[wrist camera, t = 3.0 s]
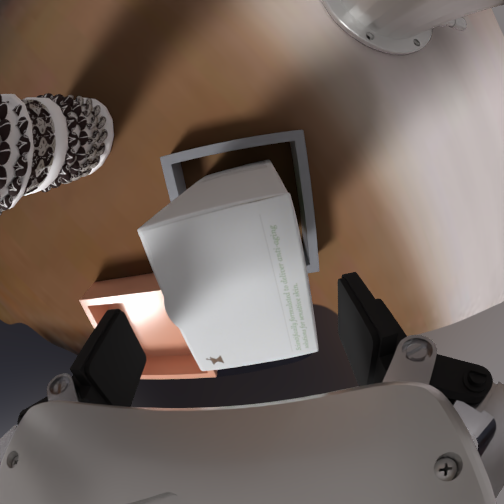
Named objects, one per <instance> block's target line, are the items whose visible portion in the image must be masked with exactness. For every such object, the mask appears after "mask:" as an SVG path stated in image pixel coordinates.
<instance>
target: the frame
mask: <svg viewBox="0 0 504 504" xmlns="http://www.w3.org/2000/svg"><path fill="white" fill-rule="evenodd" d="M289 141H290V146H291V152H292V158H293V165H294V172H295V179H296V186H297V193H298V201H299V209H300V217H301V225H302V234H303V243H304V251H303V252H304V257H305V262H306V268H307V273H312V272H318V271H319V260H318V248H317V236H316V225H315V215H314V206H313V197H312V189H311V181H310V173H309V165H308V158H307V151H306V145H305V138H304V132H303V130H293V131H285V132H278V133H271V134H265V135H258V136H252V137H246V138H241V139H235V140H230V141H225V142H220V143H215V144H211V145H206V146H202V147H197V148H193V149H189V150H185V151H181V152H177V153H173V154H169V155H166V156H163V157H160V160H161V164H162V168H163V173H164V177H165V181H166V185H167V189H168V193H169V197H170V201H171V202H172V201H173V200H174V199H175V198H177V197H178V196H179V195H181V194H182V193H183V192H184V191H186V190H187V189H186V184H185V180H184V176H183V171H182V167H181V163H180V162H182V161H186V160H191V159H195V158H199V157H204V156H208V155H213V154H218V153H223V152H228V151H233V150H238V149H244V148H249V147H255V146H261V145H268V144H274V143H281V142H289Z"/></svg>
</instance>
